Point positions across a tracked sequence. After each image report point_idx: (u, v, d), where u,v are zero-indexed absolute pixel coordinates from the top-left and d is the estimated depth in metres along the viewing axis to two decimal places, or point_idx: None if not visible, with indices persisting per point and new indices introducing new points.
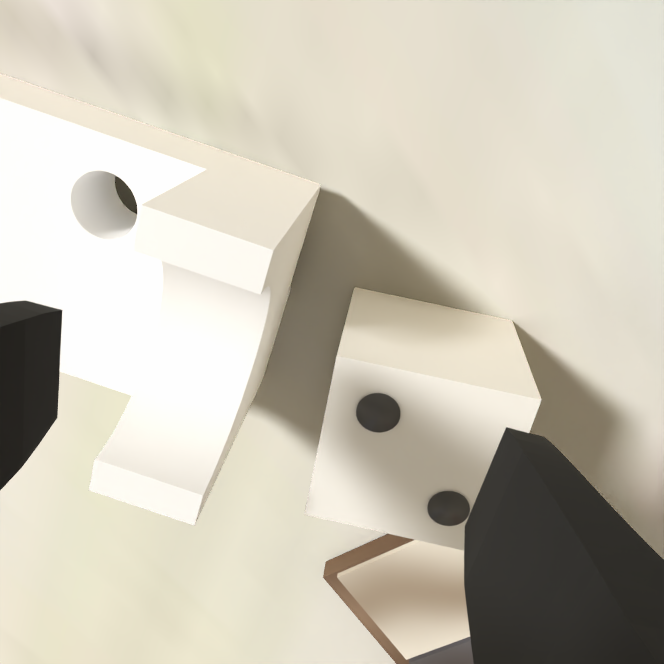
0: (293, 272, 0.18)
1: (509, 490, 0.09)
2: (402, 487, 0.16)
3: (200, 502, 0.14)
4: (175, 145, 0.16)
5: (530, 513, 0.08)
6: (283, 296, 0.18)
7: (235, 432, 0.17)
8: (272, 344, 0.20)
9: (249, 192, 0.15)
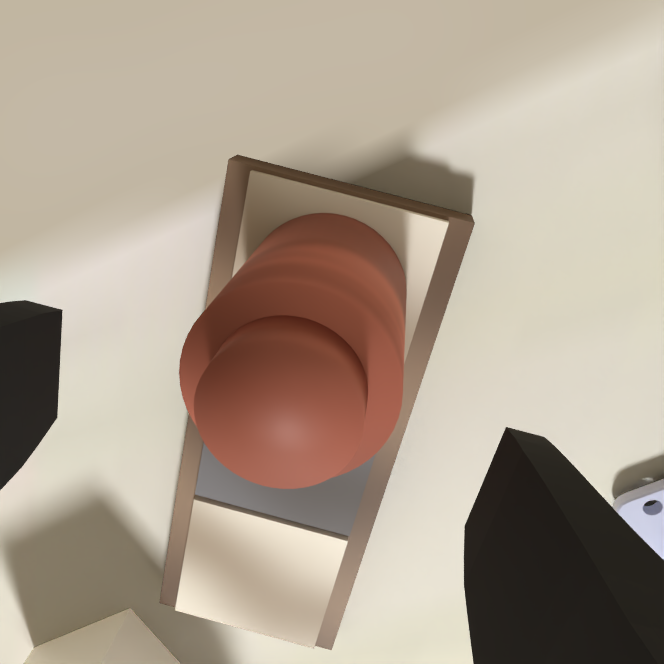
0: None
1: (509, 490, 0.09)
2: None
3: None
4: None
5: (530, 513, 0.08)
6: None
7: None
8: None
9: None
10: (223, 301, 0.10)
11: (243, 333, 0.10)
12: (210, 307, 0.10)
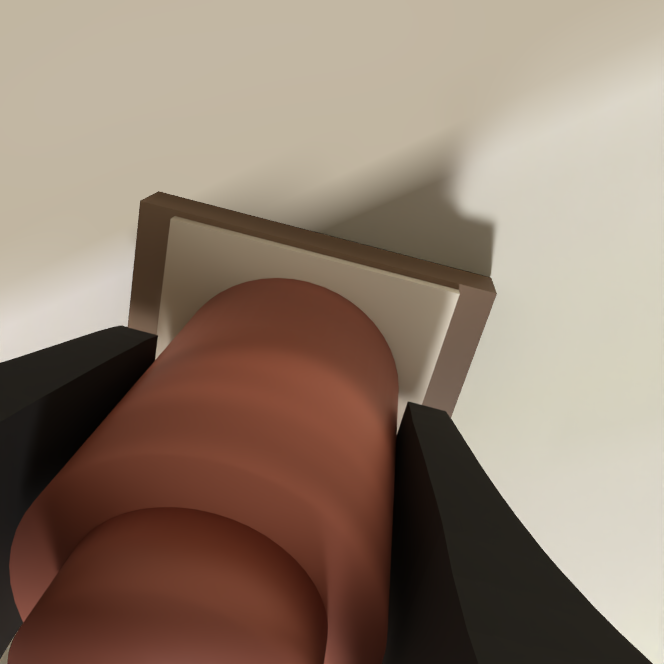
0: None
1: (401, 462, 0.09)
2: None
3: None
4: None
5: (410, 482, 0.08)
6: None
7: None
8: None
9: None
10: (68, 482, 0.06)
11: (96, 549, 0.06)
12: (48, 490, 0.06)
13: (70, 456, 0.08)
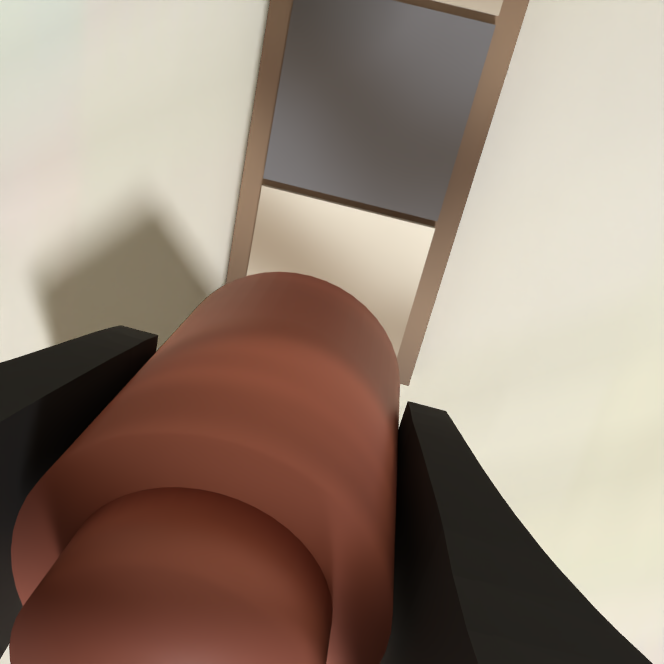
0: None
1: (401, 461, 0.09)
2: None
3: None
4: None
5: (410, 481, 0.08)
6: None
7: None
8: None
9: None
10: (72, 461, 0.06)
11: (100, 529, 0.06)
12: (52, 471, 0.06)
13: None
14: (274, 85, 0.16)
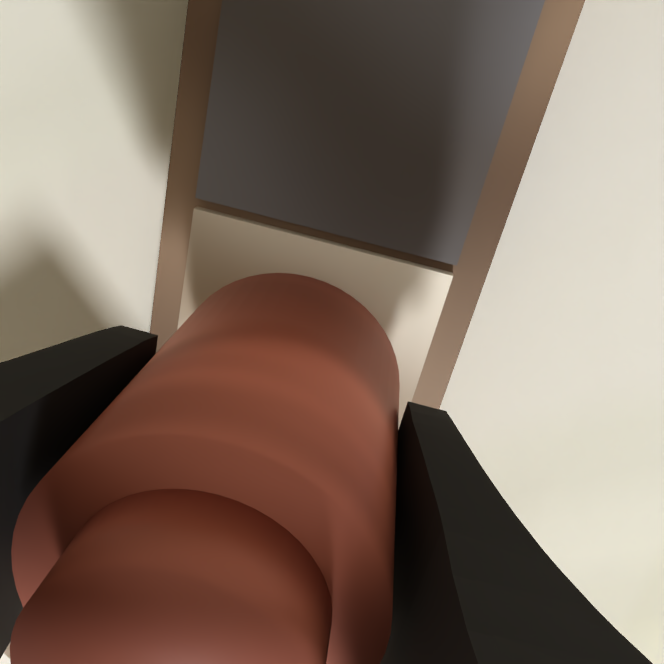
0: None
1: (401, 461, 0.09)
2: None
3: None
4: None
5: (410, 481, 0.08)
6: None
7: None
8: None
9: None
10: (73, 463, 0.06)
11: (100, 531, 0.06)
12: (52, 472, 0.06)
13: None
14: (208, 56, 0.10)
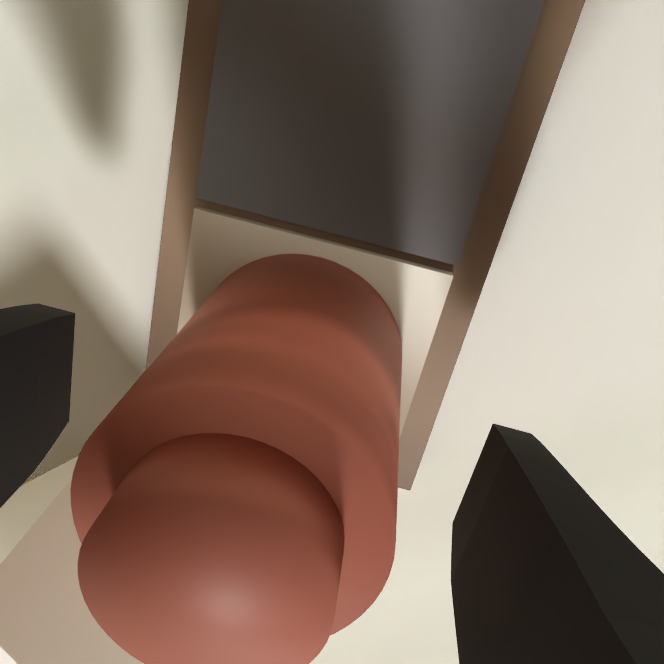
0: None
1: (495, 486, 0.09)
2: None
3: None
4: None
5: (514, 509, 0.08)
6: None
7: None
8: None
9: None
10: (125, 411, 0.07)
11: (151, 466, 0.07)
12: (108, 420, 0.07)
13: None
14: (208, 56, 0.10)
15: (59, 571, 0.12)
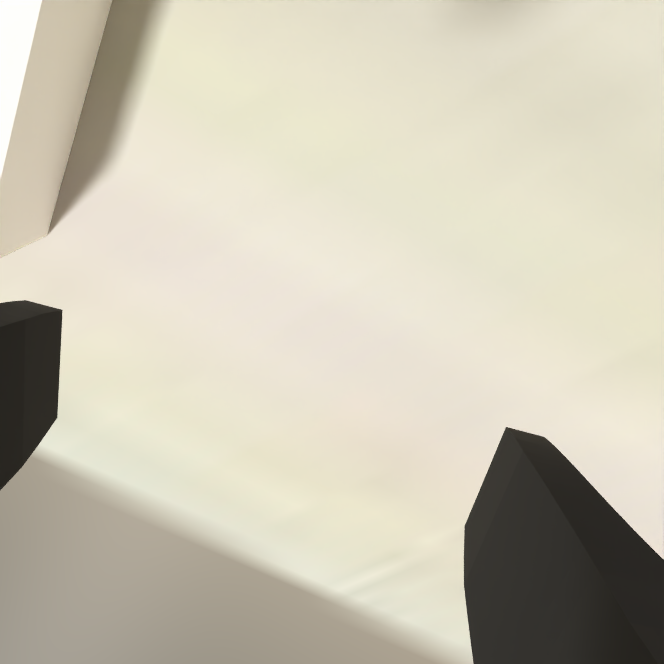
0: None
1: (509, 490, 0.09)
2: None
3: None
4: None
5: (530, 513, 0.08)
6: None
7: None
8: None
9: None
10: None
11: None
12: None
13: None
14: None
15: None
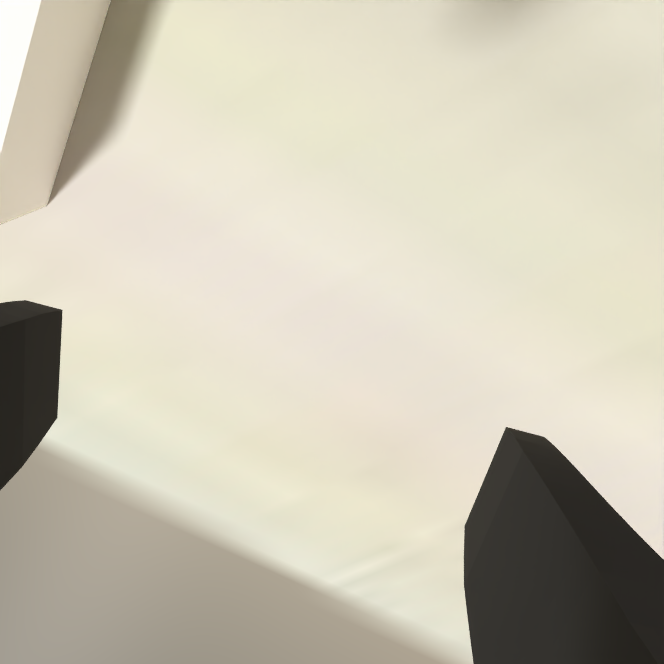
0: None
1: (509, 490, 0.09)
2: None
3: None
4: None
5: (530, 513, 0.08)
6: None
7: None
8: None
9: None
10: None
11: None
12: None
13: None
14: None
15: None
